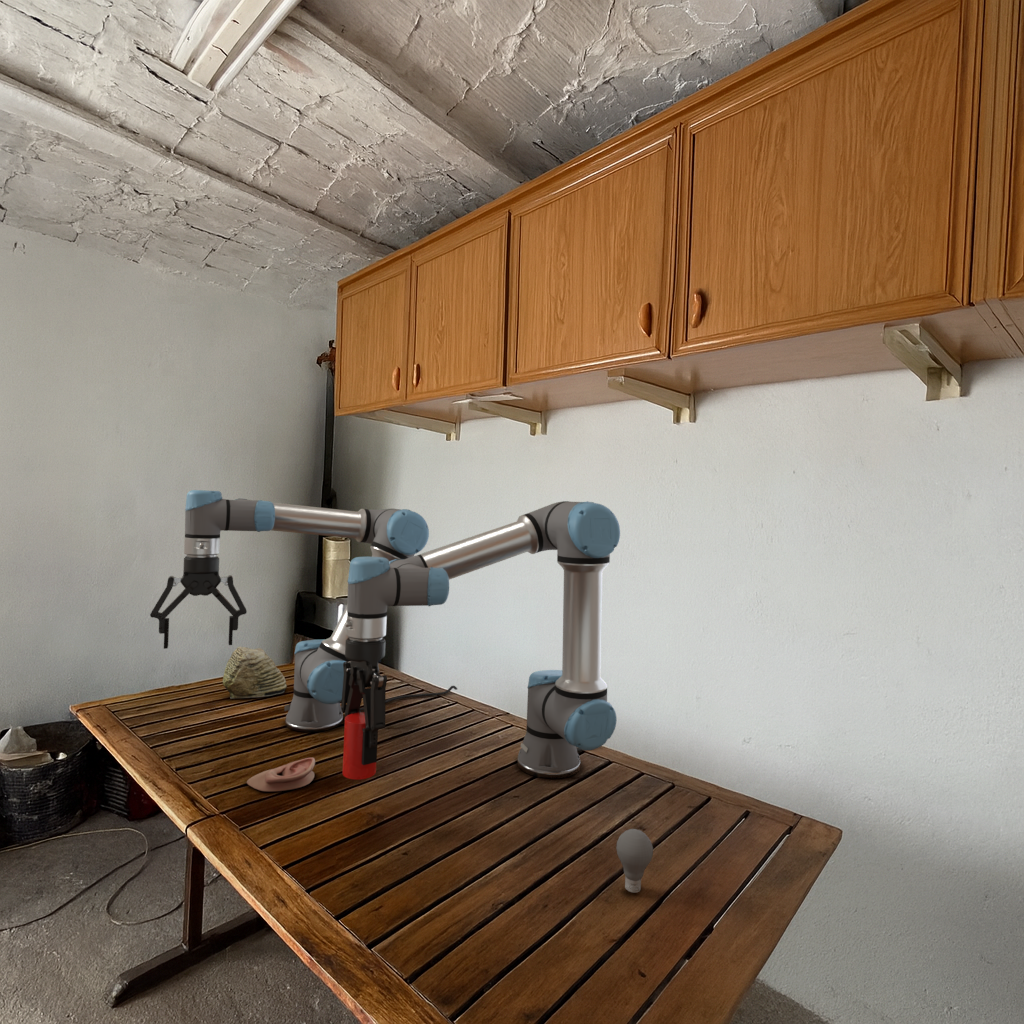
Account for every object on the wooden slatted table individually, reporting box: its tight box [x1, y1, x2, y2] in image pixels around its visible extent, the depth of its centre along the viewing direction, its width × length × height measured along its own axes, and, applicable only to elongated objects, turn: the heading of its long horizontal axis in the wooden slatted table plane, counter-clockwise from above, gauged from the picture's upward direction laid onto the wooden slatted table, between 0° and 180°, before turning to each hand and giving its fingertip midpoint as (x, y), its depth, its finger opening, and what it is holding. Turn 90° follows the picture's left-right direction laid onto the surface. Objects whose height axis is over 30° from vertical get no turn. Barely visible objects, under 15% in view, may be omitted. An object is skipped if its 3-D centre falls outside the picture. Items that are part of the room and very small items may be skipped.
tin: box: [341, 711, 377, 781], centre depth 122 cm, size 6×6×11 cm
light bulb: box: [615, 828, 654, 894], centre depth 106 cm, size 6×6×10 cm
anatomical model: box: [246, 757, 316, 792], centre depth 140 cm, size 13×4×12 cm
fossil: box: [222, 646, 288, 699], centre depth 198 cm, size 9×18×15 cm, turn 132°
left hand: (198, 645), depth 149 cm, fingers open, 13 cm apart
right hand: (360, 756), depth 122 cm, fingers closed on tin, 6 cm apart
